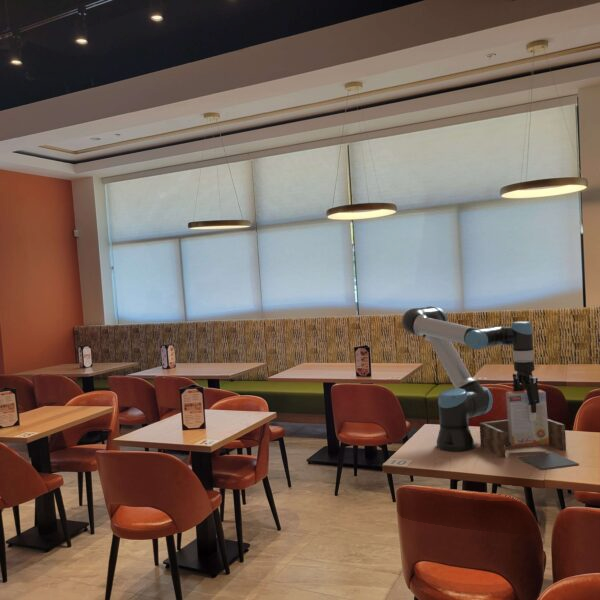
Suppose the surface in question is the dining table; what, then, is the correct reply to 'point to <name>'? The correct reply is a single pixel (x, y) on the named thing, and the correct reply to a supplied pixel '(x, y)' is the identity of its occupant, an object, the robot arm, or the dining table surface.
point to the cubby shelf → (498, 436)
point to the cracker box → (526, 420)
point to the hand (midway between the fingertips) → (527, 418)
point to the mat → (548, 461)
